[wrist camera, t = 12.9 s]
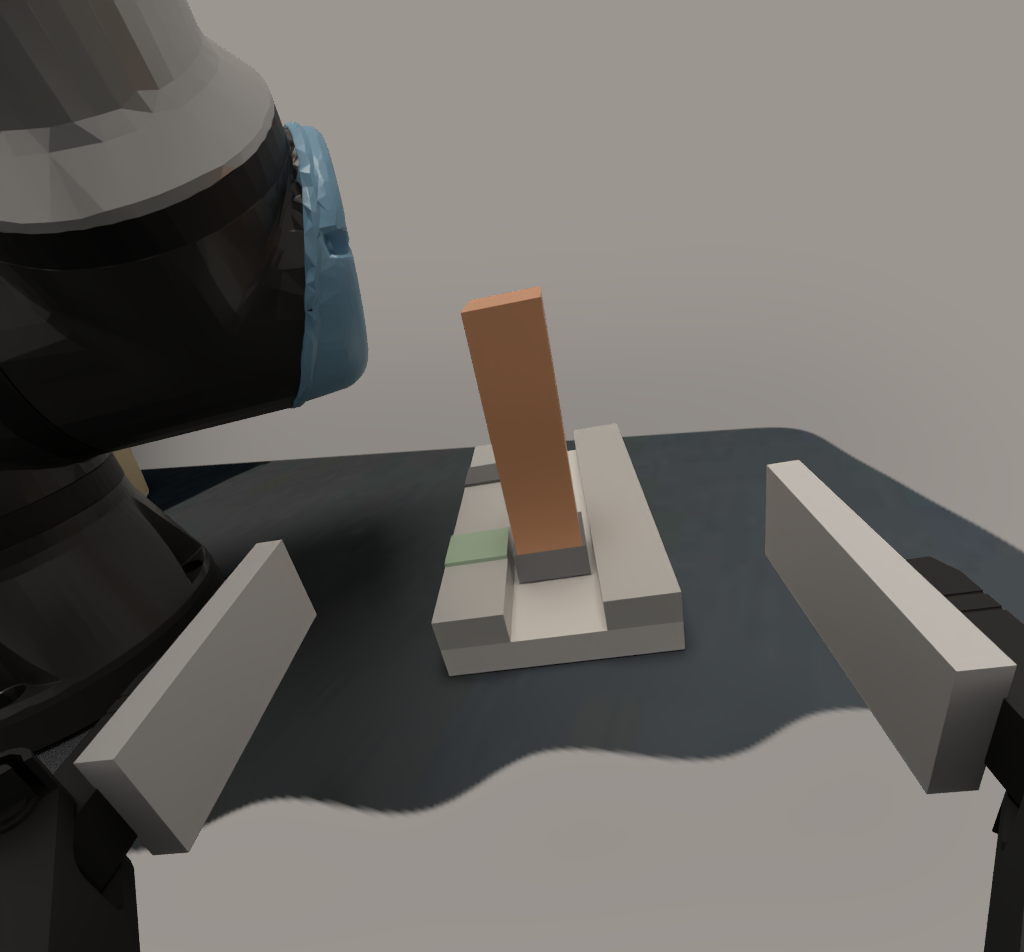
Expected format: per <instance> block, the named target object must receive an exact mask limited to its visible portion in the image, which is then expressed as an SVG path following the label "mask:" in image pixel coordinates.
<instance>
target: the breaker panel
mask: <svg viewBox="0 0 1024 952" xmlns="http://www.w3.org/2000/svg"><path fill="white" fill-rule="evenodd" d="M573 433H574V439H575V446H576V450H572V451H567V452H568V458H569V464H570V470H571V477H572V483H573V489H574V495H575V501H576V507H577V512H581V513H582V519H583V525H584V531H585V538H586V544H587V550H588V557H589V563H590V570H591V574H584V575H577V576H569V577H562V578H554V579H547V580H540V581H532V582H525V583H519V579H518V575H517V571H516V566H515V562H514V558H513V548H514V539H513V535H512V530H511V526H510V522H509V518H508V513H507V509H506V505H505V500H504V496H503V492H502V488H501V483H500V479H499V475H498V470H497V466H496V462H495V458H494V453H493V449H492V445H491V444H489V445H483V446H477V447H475V451H474V455H473V459H472V463H471V467H469V469H468V473H467V477H466V481H465V491H464V495H463V499H462V503H461V507H460V511H459V515H458V519H457V523H456V527H455V531H454V535H453V536H451V540H450V544H449V547H448V551H447V555H446V559H445V563H444V564H445V571H444V575H443V579H442V583H441V587H440V591H439V595H438V599H437V603H436V607H435V611H434V615H433V619H432V623H431V624H432V627H433V630H434V633H435V636H436V639H437V642H438V645H439V648H440V650H441V653H442V656H443V659H444V662H445V665H446V668H447V671H448V674H449V676H455V675H463V674H472V673H481V672H490V671H498V670H507V669H516V668H525V667H533V666H542V665H551V664H560V663H568V662H577V661H586V660H595V659H604V658H612V657H621V656H630V655H639V654H647V653H656V652H665V651H674V650H682V649H685V640H684V626H683V611H682V597H681V590H680V588H679V585H678V582H677V580H676V577H675V575H674V572H673V569H672V567H671V564H670V562H669V559H668V556H667V554H666V551H665V549H664V546H663V543H662V541H661V538H660V536H659V533H658V530H657V528H656V525H655V522H654V520H653V517H652V515H651V512H650V509H649V507H648V504H647V502H646V499H645V496H644V494H643V491H642V489H641V486H640V483H639V481H638V478H637V476H636V473H635V470H634V468H633V465H632V463H631V460H630V457H629V455H628V452H627V450H626V447H625V444H624V442H623V439H622V437H621V434H620V432H619V429H618V426H617V424H616V423H614V424H608V425H602V426H596V427H590V428H584V429H578V430H573Z"/></svg>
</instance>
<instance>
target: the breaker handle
mask: <svg viewBox="0 0 1024 952" xmlns="http://www.w3.org/2000/svg"><path fill="white" fill-rule="evenodd" d="M461 316H462V320H463V324H464V329H465V333H466V337H467V342H468V346H469V350H470V355H471V359H472V363H473V367H474V371H475V376H476V380H477V384H478V389H479V393H480V397H481V402H482V406H483V410H484V414H485V419H486V423H487V428H488V432H489V436H490V440H491V445H492V449H493V453H494V458H495V462H496V466H497V470H498V475H499V479H500V483H501V488H502V492H503V496H504V500H505V505H506V509H507V513H508V518H509V522H510V526H511V530H512V535H513V539H514V548H513V558H514V562H515V566H516V571H517V575H518V579H519V583H525V582H532V581H540V580H547V579H554V578H562V577H569V576H577V575H584V574H591V570H590V563H589V557H588V550H587V544H586V538H585V531H584V525H583V519H582V513H581V512H577V507H576V501H575V495H574V489H573V483H572V477H571V470H570V464H569V458H568V452H567V446H566V440H565V434H564V428H563V422H562V416H561V410H560V404H559V398H558V392H557V385H556V380H555V374H554V367H553V362H552V355H551V349H550V343H549V338H548V331H547V325H546V319H545V313H544V307H543V301H542V295H541V288H540V286H539V287H534V288H529V289H524V290H520V291H514V292H509V293H505V294H499V295H495V296H489V297H484V298H479V299H475V300H470V301H469V302H468V304H467V305H466V306H465V308H464V309H463V310H462V312H461Z"/></svg>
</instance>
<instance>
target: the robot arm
mask: <svg viewBox="0 0 1024 952" xmlns="http://www.w3.org/2000/svg"><path fill="white" fill-rule="evenodd" d="M348 242H349V237H348V232H347V228H346V224H345V216H344V210H343V205H342V201H341V197H340V192H339V188H338V184H337V180H336V176H335V172H334V168H333V165H332V161H331V157H330V154H329V151H328V148H327V145H326V143H325V140H324V138H323V136H322V135H321V133H320V132H319V131H318V130H317V129H315V128H313V127H310V126H300V125H299V124H298V123H296V122H294V123H292V122H289V123H285V126H284V127H283V126H282V123H281V121H280V118H279V115H278V112H277V110H276V107H275V104H274V101H273V98H272V95H271V93H270V90H269V88H268V86H267V84H266V82H265V81H264V80H263V78H262V77H261V76H260V74H259V73H258V72H257V71H256V70H255V69H254V68H252V67H251V66H249V65H248V64H246V63H245V62H243V61H242V60H240V59H239V58H237V57H236V56H234V55H233V54H231V53H230V52H228V51H227V50H225V49H224V48H222V47H221V46H220V45H218V44H216V43H215V42H214V41H212V40H210V39H209V38H208V37H206V36H205V35H204V34H203V33H202V32H201V30H200V28H199V27H198V26H197V23H196V21H195V19H194V16H193V14H192V12H191V9H190V7H189V5H188V2H187V0H0V952H140V943H139V930H138V917H137V904H136V890H135V876H134V867H133V865H132V863H131V860H130V859H129V858H128V857H127V856H126V854H127V852H128V851H129V849H130V847H131V846H132V844H133V843H134V841H135V840H136V838H138V839H139V840H140V841H141V842H142V843H143V845H144V846H145V847H146V848H147V849H148V850H149V851H150V853H151V854H152V855H161V854H174V853H186V852H189V851H190V849H191V847H192V845H193V844H194V842H195V840H196V838H197V836H198V834H199V832H200V831H201V829H202V827H203V825H204V823H205V821H206V819H207V818H208V816H209V814H210V812H211V810H212V808H213V806H214V805H215V803H216V801H217V799H218V797H219V795H220V793H221V792H222V790H223V788H224V786H225V784H226V782H227V780H228V779H229V777H230V775H231V773H232V771H233V769H234V767H235V766H236V764H237V762H238V760H239V758H240V756H241V754H242V753H243V751H244V749H245V747H246V745H247V743H248V741H249V740H250V738H251V736H252V734H253V732H254V730H255V728H256V726H257V725H258V723H259V721H260V719H261V717H262V715H263V713H264V712H265V710H266V708H267V706H268V704H269V702H270V700H271V699H272V697H273V695H274V693H275V691H276V689H277V687H278V686H279V684H280V682H281V680H282V678H283V676H284V674H285V673H286V671H287V669H288V667H289V665H290V663H291V661H292V660H293V658H294V656H295V654H296V652H297V650H298V648H299V647H300V645H301V643H302V641H303V639H304V637H305V635H306V634H307V632H308V630H309V628H310V626H311V624H312V622H313V621H314V619H315V617H316V615H317V614H316V612H315V610H314V608H313V606H312V603H311V601H310V599H309V597H308V595H307V593H306V590H305V588H304V586H303V584H302V582H301V580H300V578H299V575H298V573H297V571H296V569H295V567H294V565H293V563H292V560H291V558H290V556H289V554H288V552H287V550H286V547H285V545H284V543H283V541H282V540H276V541H269V542H263V543H257V544H256V545H255V546H254V547H253V548H252V550H251V551H250V552H249V553H248V554H247V556H246V557H245V558H244V559H243V560H242V562H241V563H240V564H239V565H238V566H237V568H236V569H235V570H234V571H233V572H232V574H231V575H230V576H229V577H228V578H227V580H226V581H225V580H224V578H223V576H222V574H221V572H220V571H219V569H218V567H217V565H216V563H215V561H214V560H213V558H212V556H211V554H210V553H209V552H208V551H207V549H206V548H205V547H204V546H203V545H202V544H200V543H199V542H198V541H197V540H196V539H195V538H193V537H192V536H191V535H190V534H189V533H187V532H186V531H185V530H184V529H183V528H182V527H180V526H179V525H178V524H177V523H176V522H174V521H173V520H172V519H171V518H170V517H169V516H167V515H166V514H165V513H164V512H163V511H162V510H160V509H159V508H158V507H157V506H156V505H154V504H153V503H152V502H151V501H150V500H149V499H147V498H146V497H145V496H144V495H143V494H142V493H140V492H139V491H138V490H137V489H136V488H135V487H134V486H133V485H132V484H131V482H130V481H129V479H128V478H127V476H126V474H125V473H124V471H123V469H122V467H121V466H120V464H119V462H118V461H117V459H116V457H115V456H114V454H113V451H119V450H121V449H125V448H129V447H133V446H137V445H141V444H145V443H149V442H153V441H158V440H162V439H165V438H170V437H174V436H178V435H182V434H186V433H190V432H194V431H198V430H202V429H206V428H210V427H214V426H218V425H222V424H226V423H230V422H234V421H239V420H243V419H247V418H251V417H255V416H259V415H263V414H267V413H271V412H275V411H279V410H283V409H287V408H296V407H300V406H301V405H303V404H304V403H305V402H306V401H309V400H311V399H315V398H318V397H321V396H324V395H327V394H330V393H333V392H335V391H339V390H342V389H345V388H347V387H349V386H351V385H352V384H354V383H355V382H356V381H357V380H358V379H359V378H360V377H361V376H362V374H363V373H364V371H365V368H366V366H367V361H368V343H367V335H366V326H365V319H364V312H363V306H362V300H361V295H360V289H359V284H358V278H357V273H356V268H355V264H354V259H353V255H352V252H351V249H350V247H349V245H348ZM765 555H766V556H767V558H768V559H769V561H770V562H771V564H772V565H773V567H774V568H775V570H776V571H777V573H778V574H779V576H780V577H781V579H782V580H783V582H784V583H785V585H786V586H787V587H788V589H789V590H790V592H791V593H792V595H793V596H794V598H795V599H796V601H797V602H798V604H799V605H800V607H801V608H802V610H803V611H804V613H805V614H806V616H807V617H808V619H809V620H810V622H811V623H812V625H813V626H814V628H815V629H816V630H817V632H818V633H819V635H820V636H821V638H822V639H823V641H824V642H825V644H826V645H827V647H828V648H829V650H830V651H831V653H832V654H833V656H834V657H835V659H836V660H837V662H838V663H839V665H840V666H841V668H842V669H843V671H844V672H845V673H846V675H847V676H848V678H849V679H850V681H851V682H852V684H853V685H854V687H855V688H856V690H857V691H858V693H859V694H860V696H861V697H862V699H863V700H864V702H865V703H866V705H867V706H868V708H869V709H870V711H871V712H872V713H873V715H874V717H875V718H876V719H877V721H878V722H879V724H880V725H881V727H882V728H883V730H884V731H885V733H886V734H887V736H888V737H889V739H890V740H891V742H892V743H893V745H894V746H895V748H896V749H897V751H898V752H899V754H900V755H901V756H902V758H903V760H904V761H905V762H906V764H907V765H908V767H909V768H910V770H911V771H912V773H913V774H914V776H915V777H916V779H917V780H918V782H919V783H920V785H921V786H922V788H923V789H924V790H925V792H926V794H934V793H948V792H960V791H973V790H979V787H980V784H981V780H982V777H983V774H984V770H985V767H986V766H987V767H988V768H989V770H990V771H991V772H992V773H993V775H994V776H995V777H996V778H997V780H998V781H999V782H1000V783H1001V784H1002V786H1003V787H1004V788H1005V789H1006V792H1005V795H1004V798H1003V801H1002V803H1001V806H1000V809H999V812H998V815H997V818H996V821H995V824H994V827H993V829H992V831H993V832H995V833H997V834H998V840H997V848H996V856H995V865H994V872H993V881H992V889H991V898H990V906H989V914H988V922H987V930H986V938H985V947H984V952H1024V625H1023V624H1022V623H1021V622H1020V621H1019V620H1018V619H1016V618H1015V617H1014V616H1013V615H1012V614H1010V613H1009V612H1008V611H1007V610H1003V609H1002V607H1001V605H1000V604H999V603H997V602H996V601H995V600H994V599H993V598H991V597H990V596H989V595H988V594H984V593H983V590H982V589H981V588H980V587H978V586H977V585H976V584H975V583H974V582H973V581H971V580H970V579H969V578H968V577H967V576H965V575H964V574H963V573H962V572H961V571H959V570H957V569H955V568H953V567H951V566H948V565H946V564H944V563H942V562H940V561H938V560H936V559H934V558H932V557H923V558H915V559H907V560H905V559H904V558H903V557H901V556H900V555H899V554H898V553H897V552H896V551H895V550H894V549H893V548H892V547H891V546H890V545H889V544H888V543H887V542H885V541H884V540H883V539H882V538H881V537H880V536H879V535H878V534H877V533H876V532H875V531H874V530H873V529H872V528H871V527H870V526H868V525H867V524H866V523H865V522H864V521H863V520H862V519H861V518H860V517H859V516H858V515H857V514H856V513H855V512H854V511H852V510H851V509H850V508H849V507H848V506H847V505H846V504H845V503H844V502H843V501H842V500H841V499H840V498H839V497H838V496H837V495H835V494H834V493H833V492H832V491H831V490H830V489H829V488H828V487H827V486H826V485H825V484H824V483H823V482H822V481H821V480H819V479H818V478H817V477H816V476H815V475H814V474H813V473H812V472H811V471H810V470H809V469H808V468H807V467H806V466H805V465H804V464H802V463H801V462H800V461H799V460H796V461H789V462H783V463H776V464H770V465H767V484H766V538H765ZM105 715H106V716H105ZM100 718H101V719H100ZM98 719H100V720H99V721H98V722H97V724H96V725H95V726H94V727H93V728H92V729H91V731H90V732H89V733H88V734H87V735H86V736H85V738H84V739H83V740H82V741H81V742H80V743H79V745H78V746H77V747H76V748H75V749H74V750H73V752H72V753H71V754H70V755H69V756H68V758H67V759H66V760H65V761H64V762H63V763H62V765H61V766H60V767H59V768H58V769H57V770H56V772H55V773H54V774H52V773H51V772H50V771H49V770H48V769H47V768H46V767H45V765H44V764H43V763H42V762H41V761H40V760H39V759H38V758H37V757H36V756H35V754H34V753H33V752H35V751H37V750H40V749H42V748H44V747H46V746H49V745H51V744H53V743H55V742H57V741H59V740H61V739H63V738H65V737H67V736H69V735H71V734H73V733H75V732H77V731H79V730H81V729H83V728H84V727H86V726H88V725H90V724H91V723H93V722H95V721H97V720H98Z"/></svg>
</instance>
